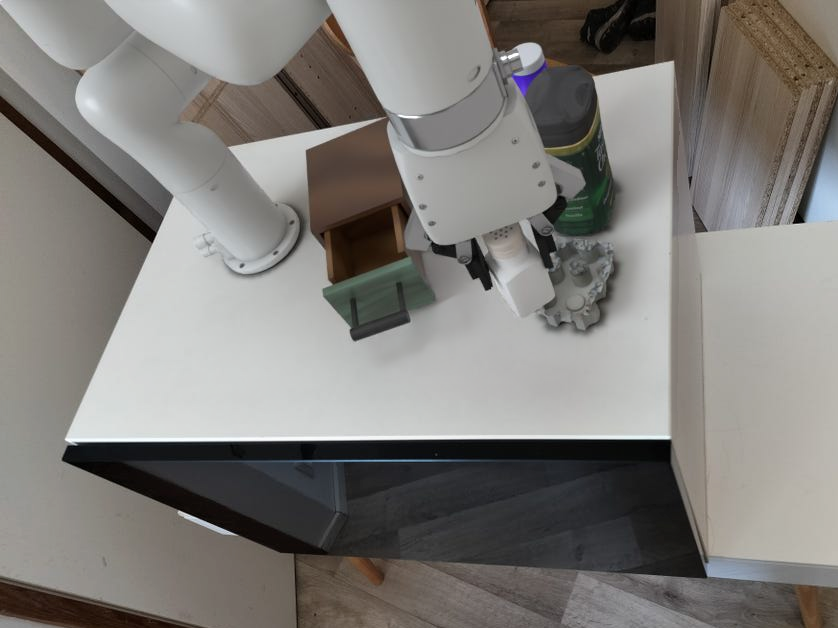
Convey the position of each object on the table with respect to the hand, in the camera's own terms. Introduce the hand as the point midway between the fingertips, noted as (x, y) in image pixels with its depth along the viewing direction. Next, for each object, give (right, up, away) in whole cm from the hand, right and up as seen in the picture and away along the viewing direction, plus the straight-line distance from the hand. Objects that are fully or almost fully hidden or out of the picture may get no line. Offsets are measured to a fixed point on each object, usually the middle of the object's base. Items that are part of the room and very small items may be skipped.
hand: (515, 265), depth 57 cm
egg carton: (+8, 0, +22) cm, 23 cm away
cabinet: (-17, +12, +38) cm, 43 cm away
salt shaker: (+2, -2, +4) cm, 5 cm away
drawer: (-15, +1, +29) cm, 33 cm away
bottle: (+7, +18, +33) cm, 38 cm away
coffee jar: (+10, +11, +27) cm, 31 cm away
